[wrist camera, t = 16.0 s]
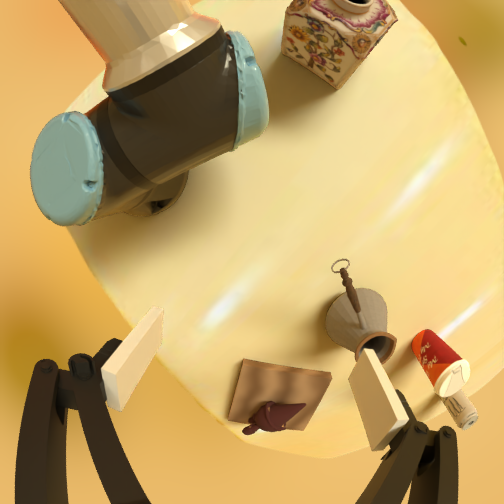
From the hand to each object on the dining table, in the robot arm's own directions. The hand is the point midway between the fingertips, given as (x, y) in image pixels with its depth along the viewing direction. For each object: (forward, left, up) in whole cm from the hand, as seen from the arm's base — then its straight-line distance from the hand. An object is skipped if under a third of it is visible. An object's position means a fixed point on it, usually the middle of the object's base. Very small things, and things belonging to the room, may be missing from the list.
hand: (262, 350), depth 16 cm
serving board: (+10, -32, -29) cm, 44 cm away
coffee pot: (+15, -5, -29) cm, 33 cm away
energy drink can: (+57, -27, -29) cm, 69 cm away
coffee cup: (+38, -13, -29) cm, 49 cm away
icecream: (+10, -33, -27) cm, 44 cm away
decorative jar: (+3, +35, -29) cm, 46 cm away
